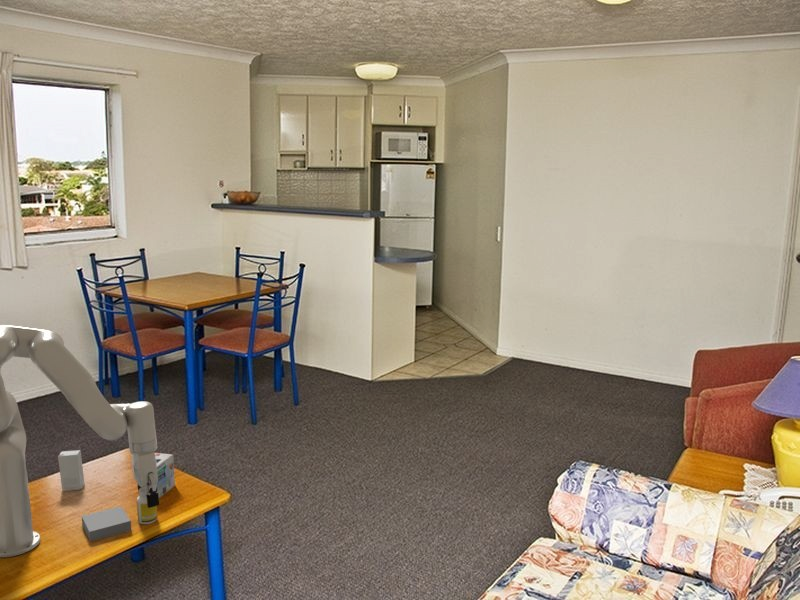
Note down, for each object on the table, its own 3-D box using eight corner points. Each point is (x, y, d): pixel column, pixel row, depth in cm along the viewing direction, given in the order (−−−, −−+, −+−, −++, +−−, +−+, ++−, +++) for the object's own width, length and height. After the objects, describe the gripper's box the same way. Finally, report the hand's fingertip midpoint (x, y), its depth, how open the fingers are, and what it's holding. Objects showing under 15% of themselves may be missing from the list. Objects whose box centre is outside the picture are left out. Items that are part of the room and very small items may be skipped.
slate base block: (90, 541, 196) (89, 531, 195) (82, 525, 205) (81, 516, 204) (131, 530, 202) (130, 520, 202) (122, 515, 211) (121, 505, 210)
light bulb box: (158, 499, 221) (156, 467, 219) (139, 497, 223) (136, 465, 221) (176, 484, 232) (174, 453, 230) (157, 483, 233) (155, 452, 231)
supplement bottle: (161, 519, 209) (159, 487, 207) (146, 526, 204) (143, 494, 203) (149, 514, 212) (147, 483, 210) (134, 521, 207) (131, 490, 205)
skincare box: (85, 484, 232) (81, 449, 230) (81, 490, 228) (78, 454, 226) (65, 485, 231) (61, 450, 229) (60, 491, 227) (57, 455, 225)
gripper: (122, 438, 209) (128, 492, 212) (137, 457, 195) (143, 515, 198) (148, 432, 213) (153, 486, 216) (165, 451, 199) (170, 507, 202)
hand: (148, 499), depth 207 cm, fingers open, 9 cm apart
